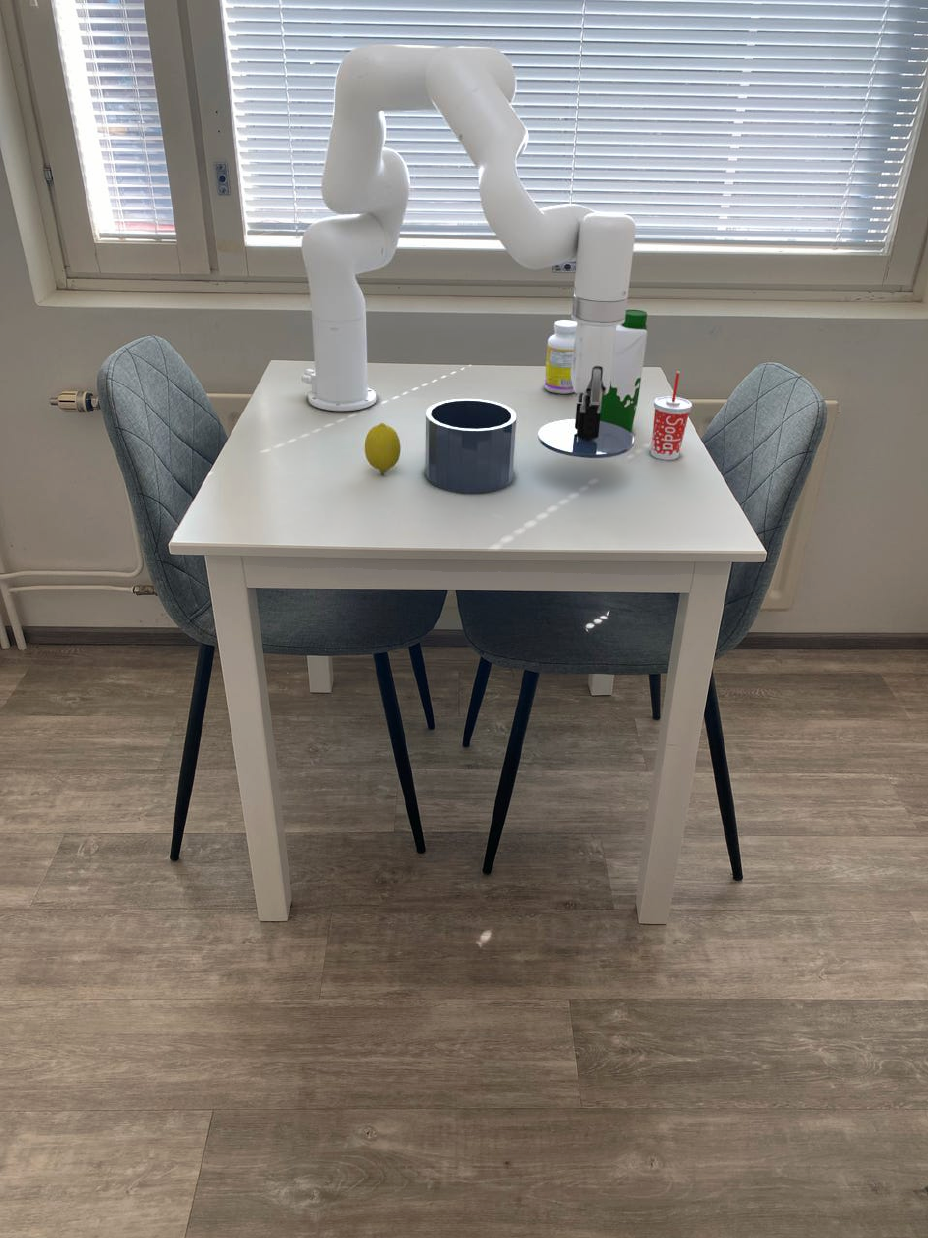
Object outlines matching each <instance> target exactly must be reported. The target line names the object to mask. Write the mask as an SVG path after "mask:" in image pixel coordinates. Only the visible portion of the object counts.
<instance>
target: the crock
mask: <svg viewBox="0 0 928 1238" xmlns="http://www.w3.org/2000/svg"><path fill="white" fill-rule="evenodd" d="M516 431H517V413H516V412H515V411H514V409H513V408H510V407H508V406H507V405H505V404H502V403H500V402H495V401H492V400H488V399H487V400H486V399H485V400H484V399H478V398H458V399H456V398H455V399H449V400H444V401H440V402H438V403H435V404H433V405H431V406H430V407H428V408H427V409H426V412H425V460H424V461H425V465H424V466H425V468H424V472H425V477H426V480H427V481H428V482H429V483H430V484H431V485H433V486H434V487H437V488H439V489H441V490H443V491H448V492H450V493H451V492H452V493H455V494H466V495H477V494H480V495H481V494H488V493H493V492H496V491H499V490H502V489H504V488H505V487H507V486H508V485H510V484H511V482H512V480H513V475H514V461H515V445H516Z"/></svg>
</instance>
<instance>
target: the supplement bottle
mask: <svg viewBox="0 0 928 1238" xmlns="http://www.w3.org/2000/svg"><path fill="white" fill-rule="evenodd" d="M576 327H577V322H575V321H573V320H567V319H561V320H556V321H554V324H553V330H554V334H552V335H551V336H549V338H548V340H547V347H546V348H547V349H546V350H547V351H546V362H545V375H544V388H545V389H546V390H547V391H548V392H551V393H554V394H559V395H568V394H572V393H575V391H574V389H573V385H572V381H571V366H572V358H573V350H574V341H575V334H576Z"/></svg>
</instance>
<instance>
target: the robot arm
mask: <svg viewBox="0 0 928 1238" xmlns="http://www.w3.org/2000/svg"><path fill="white" fill-rule="evenodd" d="M333 90H334V91H333V112H332V120H331V126H330V130H329V135H328V141H327V145H326V146H327V147H326V152H325V158H324V165H323V170H322V177H321V185H320V187H321V189H320V190H321V197H322V200H323V202H324V204H325V207H327V208H328V209H329V210H330V211H331V212H333V213H336V214H337V215H334V216H327V217H324V218H320V219H318V220H316V221H313V222H312V223H311V224H310V225H308V227H307V228H306V229H305V231H304V233H303V235H302V238H301V254H302V259H303V264H304V267H305V271H306V277H307V281H308V288H309V294H310V295H309V296H310V305H311V306H310V307H311V308H310V309H311V322H312V323H311V325H312V339H313V342H312V343H313V356H314V358H313V359H314V369H311V368H307V369H305V372H304V374H303V375H302V376H301V382H302V383H304V384H309V385H311V390H310V391H309V392H308V394H307V395H308V400H307V401H308V403H309V404H310V405H312V407H315V408H317V409H320V410H324V411H330V412H355V411H360V410H364V409H367V408H369V407H372V406H373V405H374V404H375V403H376V402H377V393H376V391H375V390H374V389H372V388H370V387H369V379H368V378H369V377H368V341H367V338H368V337H367V313H366V311H367V310H366V301H365V295H364V293H363V290H362V289H361V287H360V285H359V283H358V281H357V278H356V275H359V274H362V273H367V272H371V271H375V270H379V269H381V268H384V267H385V266H387V265H388V264H389V263H390V262H391V261H392V260H393V257H394V256H395V253H396V251H397V247H398V244H399V239H400V235H401V231H402V227H403V223H404V220H405V216H406V215H405V214H406V210H407V207H408V202H409V198H410V192H411V180H410V173H409V169H408V166H407V163H406V162H405V160H404V158H403V157H402V156H401V155H400V154H399V153H398V152H397V151H396V150H395V149H392V148H389V147H384V146H385V142H386V138H387V123H386V119H385V113H384V112H395V113H396V112H400V113H401V112H406V113H407V112H409V113H411V112H438V113H439V115H440V116H441V117H442V119H443V120H444V122H445V123H446V125H447V127H448V128H449V129H450V131H451V132H452V134H453V135H454V137H455V138H456V139H457V141H458V142H459V144H460V145H461V147H462V148H463V150H464V151H465V153H466V155H467V156H468V157H469V159H470V160H471V162H472V164H473V165H474V166H475V168H476V170H477V172H478V190H479V198H480V202H481V208H482V211H483V213H484V217H485V219H486V221H487V223H488V225H489V227H490V229H491V230H492V231H493V233H494V235H495V236H496V237H497V239H498V240H499V242H500V244H501V245H502V246H503V248H504V249H505V251H506V252H507V253H508V255H510V256H511V258H512V259H513V260H514V261H516V262H517V264H519V265H521V266H522V267H524V268H527V269H530V270H542V269H546V268H549V267H554V266H557V265H563V264H568V263H573V262H576V264H575V265H576V266H575V274H574V275H575V279H574V286H573V287H574V288H573V297H572V308H571V309H572V310H571V321H575V322H577V327H576V334H575V341H574V350H573V358H572V366H571V381H572V385H573V389H574V391H575V392H574V393H575V394H576V395H577V396H578V398H577V400H578V401H577V403H576V410H575V418H574V419H575V429H576V430H577V437H578V438H598V435H599V426H600V417H601V412H600V411H601V402H602V392H603V395H606V394H607V393H608V392H609V388H610V381H611V374H612V366H613V357H614V347H615V336H616V325H620V324H623V323H624V322H625V315H626V310H627V307H628V306H627V305H628V297H629V289H630V281H631V273H632V265H633V258H634V257H633V255H634V248H635V239H636V230H637V229H636V228H637V226H636V223H635V220H634V219H633V218H632V217H631V216H629V215H627V214H625V213H619V212H610V211H609V212H608V211H607V212H606V211H598V210H594V209H592V208H589V207H587V206H583V205H581V204H575V203H566V204H565V203H564V204H560V205H559V204H558V205H552V206H546V207H542V208H539V207H538V205H536V203H535V201H534V200H533V199H532V197H531V196H530V194H529V193H528V191H527V190H526V188H525V186H524V185H523V182H522V180H521V178H520V176H519V173H518V169H517V161H518V159H519V158H520V157H521V156H522V155H523V153H524V151H525V149H526V147H527V145H528V142H529V132H528V129H527V127H526V125H525V124H524V122H523V121H522V119H521V118H520V117H519V115H518V114H517V112H516V110H515V109H514V108H513V106H512V105H511V104H512V103H513V101H514V99H515V96H516V93H517V92H516V91H517V74H516V72H515V68H514V66H513V64H512V62H511V61H510V59H509V58H508V56H507V55H506V54H504V53H503V52H502V51H500V50H499V49H496V48H494V47H488V46H487V47H486V46H483V47H482V46H453V47H451V46H437V45H412V44H411V45H409V44H395V43H394V44H393V43H392V44H391V43H389V44H388V43H387V44H386V43H383V44H381V43H380V44H378V43H377V44H367V45H362V46H358V47H356V48H353V49H352V50H350V51H349V52H348V53H346V54H345V56H344V57H343V58H342V60H341V61H340V63H339V65H338V68H337V70H336V75H335V81H334V89H333ZM581 405H582V406H581ZM580 406H581V411H580Z"/></svg>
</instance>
